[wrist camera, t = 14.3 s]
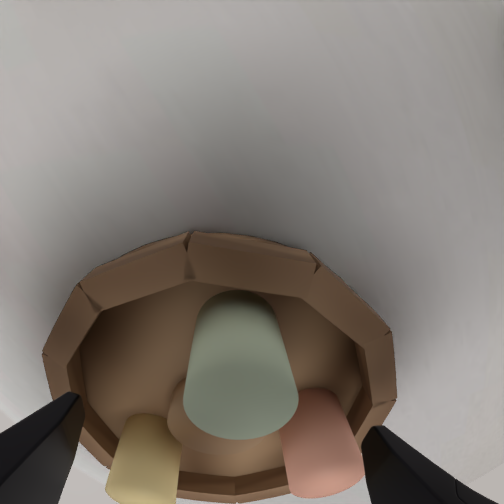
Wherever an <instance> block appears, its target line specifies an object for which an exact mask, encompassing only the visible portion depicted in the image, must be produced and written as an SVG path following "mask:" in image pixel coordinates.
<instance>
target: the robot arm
mask: <svg viewBox="0 0 504 504" xmlns="http://www.w3.org/2000/svg"><path fill="white" fill-rule="evenodd" d="M84 420H85V410H84V405H83V400H82V397H81V395H80V394H77V393H74V392H70V391H69V392H66V393H65V394H63V395H61V396H60V397H58V398H57V399H55V400H53V401H52V402H50V403H49V404H47V405H45V406H44V407H42V408H41V409H39V410H37V411H36V412H34V413H33V414H31V415H29V416H28V417H26V418H25V419H23V420H21V421H20V422H18V423H16V424H15V425H13V426H12V427H10V428H8V429H7V430H5V431H3V432H2V433H0V504H58V502H59V499H60V496H61V493H62V491H63V488H64V485H65V482H66V480H67V477H68V474H69V472H70V469H71V466H72V464H73V461H74V458H75V454H76V450H77V446H78V443H79V439H80V435H81V431H82V427H83V424H84ZM361 451H362V457H363V464H364V471H365V478H366V483H367V488H368V492H369V495H370V499H371V503H372V504H498V503H496V502H494V501H492V500H490V499H488V498H486V497H484V496H483V495H481V494H479V493H477V492H475V491H473V490H472V489H470V488H469V487H467V486H466V485H464V484H463V483H461V482H460V481H458V480H457V479H455V478H454V477H453V476H451V475H450V474H448V473H447V472H446V471H444V470H443V469H441V468H440V467H439V466H437V465H436V464H434V463H433V462H432V461H430V460H429V459H428V458H426V457H425V456H424V455H422V454H421V453H419V452H418V451H417V450H415V449H414V448H413V447H411V446H410V445H409V444H407V443H406V442H405V441H403V440H402V439H401V438H400V437H398V436H397V435H396V434H394V433H393V432H392V431H390V430H389V429H388V428H387V427H385V426H383V425H378V426H372V427H371V428H370V429H369V431H368V433H367V434H366V436H365V437H364V439H363V440H362V443H361Z"/></svg>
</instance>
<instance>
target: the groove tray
mask: <svg viewBox="0 0 504 504" xmlns="http://www.w3.org/2000/svg"><path fill="white" fill-rule="evenodd" d="M230 290H244V291H249V292H252V293H255V294H257V295H259V296H260V297H262V298H263V299H265V300H266V301H267V302H268V303H269V304H270V305H271V307H272V309H273V310H274V312H275V315H276V318H277V322H278V325H279V329H280V332H281V336H282V339H283V343H284V346H285V350H286V353H287V357H288V360H289V364H290V367H291V371H292V374H293V378H294V381H295V385H296V388H297V392H298V391H301V390H304V389H309V388H324V389H327V390H330V391H332V392H333V393H335V394H336V396H337V397H338V399H339V402H340V404H341V406H342V409H343V411H344V414H345V416H346V418H347V421H348V423H349V426H350V428H351V430H352V433H353V435H354V438H355V440H356V443H357V445H358V447H359V450H360V452H361V453H362V451H361V443H362V440H363V439H364V437H365V436H366V434H367V433H368V431H369V429H370V428H371V427H372V426H378V425H382V424H383V422H384V420H385V419H386V417H387V416H388V414H389V412H390V411H391V409H392V407H393V405H394V404H395V402H396V398H397V386H396V371H395V358H394V347H393V337H392V332H391V331H390V328H389V327H388V326H387V325H386V323H385V322H384V321H383V320H382V319H381V318H380V316H379V315H378V314H377V313H376V312H375V311H374V310H373V309H372V308H371V307H370V306H369V305H368V304H367V303H366V302H365V301H363V300H362V299H361V298H360V297H359V296H358V295H357V294H356V293H355V292H354V291H353V290H352V289H351V288H349V287H348V286H347V284H346V283H345V282H344V281H343V280H342V279H341V278H340V277H339V276H337V275H336V274H335V273H334V272H332V271H331V270H330V269H329V268H328V267H326V266H325V265H324V264H323V263H322V262H321V261H320V260H319V259H318V258H316V257H315V256H314V255H313V254H312V253H311V252H310V254H309V253H308V252H307V251H306V250H302V249H296V248H291V247H288V246H285V245H282V244H280V243H277V242H274V241H269V240H265V239H261V238H257V237H253V236H247V235H238V234H229V233H204V232H198V231H194V232H193V234H190V233H189V231H188V232H186V233H183V234H180V235H178V236H175V237H170V238H166V239H162V240H159V241H156V242H153V243H149V244H146V245H143V246H141V247H139V248H137V249H135V250H133V251H131V252H129V253H127V254H125V255H123V256H121V257H120V258H118V259H116V260H113V261H111V262H108V263H106V264H104V265H101V266H99V267H96V268H95V269H94V270H92V271H91V272H90V273H89V274H88V275H87V276H86V277H85V278H83V279H82V280H81V281H80V282H79V283H78V284H77V285H76V286H75V288H74V290H73V292H72V293H71V295H70V297H69V299H68V301H67V302H66V304H65V306H64V308H63V310H62V312H61V314H60V316H59V318H58V319H57V321H56V323H55V325H54V327H53V329H52V331H51V333H50V335H49V337H48V339H47V342H46V344H45V346H44V348H43V350H42V351H43V353H42V357H43V362H44V367H45V371H46V376H47V380H48V384H49V388H50V392H51V396H52V399H53V400H55V399H57V398H58V397H60V396H61V395H63V394H65V393H66V392H69V391H70V392H74V393H77V394H80V395H81V397H82V400H83V405H84V410H85V420H84V424H83V427H82V431H81V435H80V439H79V442H80V443H81V444H82V445H83V446H84V447H85V448H86V449H87V450H88V451H89V452H90V453H91V454H92V455H93V456H94V457H95V458H96V459H97V460H98V461H99V462H100V463H101V464H102V465H103V466H107V467H106V468H108V469H111V466H112V463H113V459H114V456H115V453H116V450H117V447H118V443H119V440H120V437H121V434H122V431H123V428H124V425H125V422H126V420H127V419H128V418H129V417H130V416H132V415H135V414H141V413H147V414H154V415H158V416H161V417H163V418H166V419H167V424H168V428H169V430H170V432H171V433H172V435H173V436H174V437H175V438H176V439H177V440H178V441H179V442H180V443H182V451H181V459H180V467H179V476H178V485H177V494H176V498H183V499H190V500H198V501H207V502H218V503H233V504H236V502H238V503H245V502H251V501H257V500H262V499H267V498H272V497H277V496H281V495H285V494H290V493H291V492H290V490H289V484H288V479H287V473H286V468H285V462H284V456H283V451H282V445H281V440H280V434H279V429H278V430H276V431H275V432H273V433H270V434H268V435H265V436H262V437H259V438H254V439H246V440H232V439H225V438H220V437H217V436H214V435H211V434H209V433H206V432H205V431H203V430H201V429H200V428H198V427H197V426H196V425H195V424H194V423H192V421H191V420H190V419H189V418H188V416H187V414H186V412H185V410H184V406H183V396H184V390H185V383H186V377H187V371H188V365H189V359H190V353H191V347H192V342H193V336H194V330H195V325H196V319H197V315H198V313H199V311H200V309H201V307H202V306H203V305H204V303H205V302H206V301H208V300H209V299H210V298H211V297H213V296H215V295H217V294H219V293H221V292H225V291H230Z"/></svg>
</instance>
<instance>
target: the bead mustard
mask: <svg viewBox="0 0 504 504" xmlns="http://www.w3.org/2000/svg"><path fill="white" fill-rule="evenodd" d="M181 451H182V443H180V442H179V441H178V440H177V439H176V438H175V437H174V436H173V435H172V433H171V432H170V430H169V428H168V424H167V419H166V418H163V417H161V416H158V415H154V414H147V413H141V414H135V415H132V416H130V417H129V418H128V419H127V420H126V422H125V425H124V428H123V431H122V434H121V437H120V440H119V443H118V447H117V450H116V453H115V456H114V459H113V463H112V466H111V469H110V473H109V476H108V480H107V483H106V487H105V490H106V493H107V494H108V495H109V496H110V497H111V498H112V499H113V500H115V501H116V502H118V503H120V504H176V494H177V485H178V476H179V467H180V459H181Z"/></svg>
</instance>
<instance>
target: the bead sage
mask: <svg viewBox="0 0 504 504" xmlns="http://www.w3.org/2000/svg"><path fill="white" fill-rule="evenodd" d="M298 401H299V398H298V392H297V388H296V385H295V381H294V378H293V374H292V371H291V367H290V364H289V360H288V357H287V353H286V350H285V346H284V343H283V339H282V336H281V332H280V329H279V325H278V322H277V318H276V315H275V312H274V310H273V309H272V307H271V305H270V304H269V303H268V302H267V301H266V300H265V299H263V298H262V297H260V296H259V295H257V294H255V293H252V292H249V291H244V290H230V291H225V292H221V293H219V294H217V295H215V296H213V297H211V298H210V299H209V300H208V301H206V302H205V303H204V305H203V306H202V307H201V309H200V311H199V313H198V315H197V319H196V325H195V330H194V336H193V342H192V347H191V353H190V359H189V365H188V371H187V377H186V383H185V390H184V396H183V406H184V410H185V412H186V414H187V416H188V418H189V419H190V420H191V421H192V423H194V424H195V425H196V426H197V427H198V428H200V429H201V430H203V431H205V432H206V433H209V434H211V435H214V436H217V437H220V438H225V439H232V440H246V439H254V438H259V437H262V436H265V435H268V434H270V433H273V432H275V431H276V430H278V429H280V428H281V427H283V426H284V425H285V424H286V423H287V422H288V421H289V420H290V419H291V418H292V416H293V415H294V413H295V411H296V409H297V406H298Z"/></svg>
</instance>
